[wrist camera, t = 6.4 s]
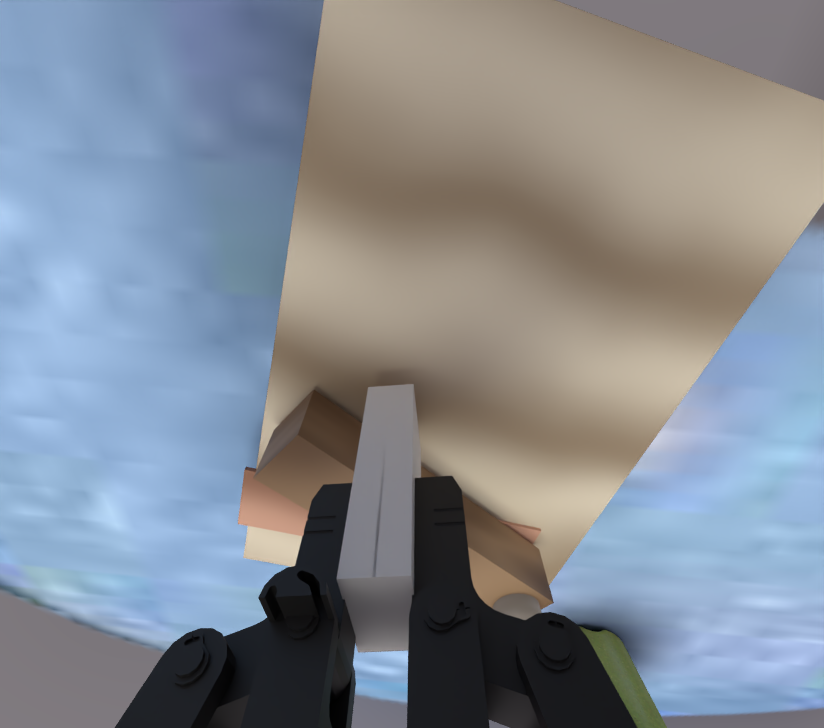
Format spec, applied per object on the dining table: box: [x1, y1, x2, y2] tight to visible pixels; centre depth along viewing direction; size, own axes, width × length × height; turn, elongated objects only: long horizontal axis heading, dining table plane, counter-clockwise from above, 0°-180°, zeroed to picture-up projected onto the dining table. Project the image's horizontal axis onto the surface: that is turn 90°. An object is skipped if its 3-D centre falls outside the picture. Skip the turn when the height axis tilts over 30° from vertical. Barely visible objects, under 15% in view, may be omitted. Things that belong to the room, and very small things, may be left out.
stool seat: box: [238, 0, 824, 585], centre depth 17 cm, size 22×14×3 cm, turn 164°
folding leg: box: [253, 390, 554, 620], centre depth 17 cm, size 12×2×3 cm, turn 47°
